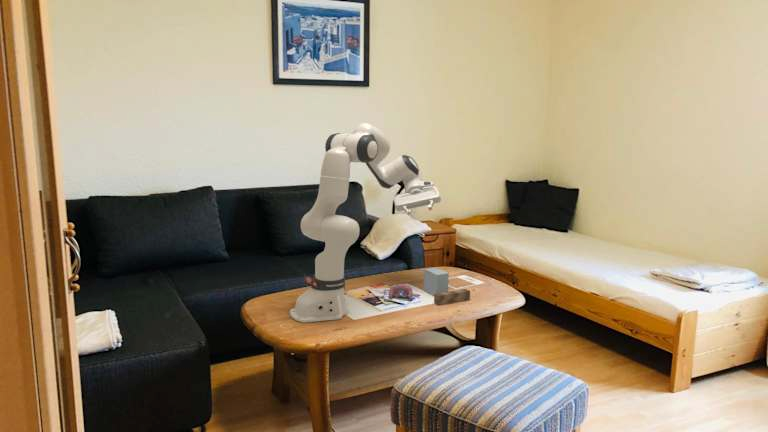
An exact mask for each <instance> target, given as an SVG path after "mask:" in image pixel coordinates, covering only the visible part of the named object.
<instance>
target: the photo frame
mask: <svg viewBox="0 0 768 432" xmlns="http://www.w3.org/2000/svg"><path fill="white" fill-rule="evenodd" d="M453 278H454V279H458V278H459V280H461V279H462V281H464V280H465V281H464V282H466V281H467V283H469V282H470V283H469V285H465V286H461V287H454V286H452V285H450V284H448V288H451V289H452V288H453V290H454V291H456V290H462V289H467V287H468V288H471V287H472V286H473V287H478V286H481V284H482V285H486V284H487V283H486V282H484V281H482V280H479V279H476V278H473V277H471V276H469V275H465V274H462V275H458V276H452V277H449V280H454V279H453ZM474 284H475V285H474Z"/></svg>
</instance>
